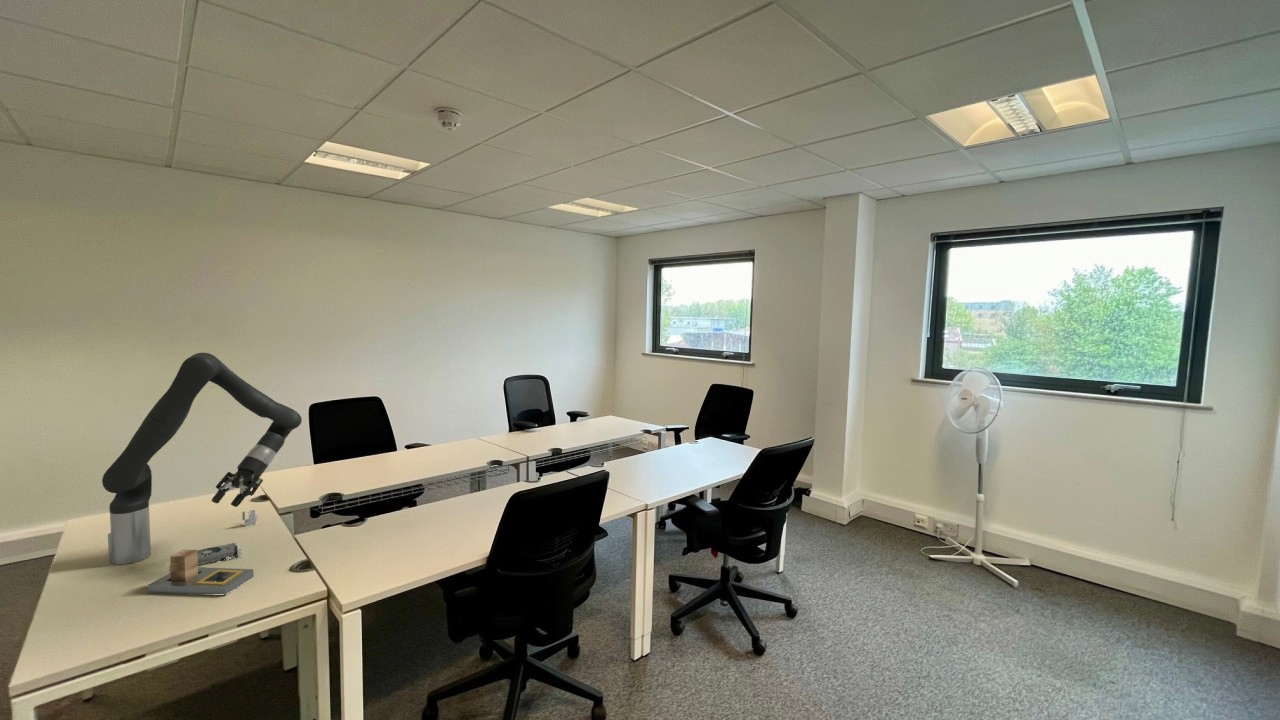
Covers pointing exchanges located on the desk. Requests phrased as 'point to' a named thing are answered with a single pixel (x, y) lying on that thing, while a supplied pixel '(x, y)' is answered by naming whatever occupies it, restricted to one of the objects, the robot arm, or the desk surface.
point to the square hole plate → (203, 582)
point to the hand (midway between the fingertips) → (223, 504)
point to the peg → (184, 565)
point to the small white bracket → (250, 518)
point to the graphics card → (219, 553)
